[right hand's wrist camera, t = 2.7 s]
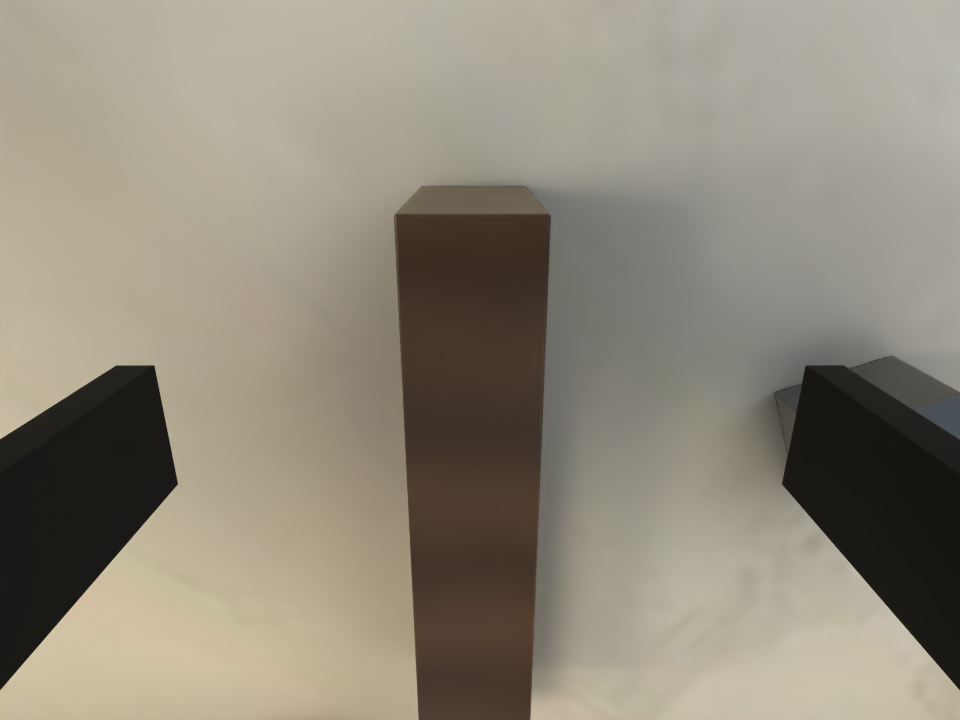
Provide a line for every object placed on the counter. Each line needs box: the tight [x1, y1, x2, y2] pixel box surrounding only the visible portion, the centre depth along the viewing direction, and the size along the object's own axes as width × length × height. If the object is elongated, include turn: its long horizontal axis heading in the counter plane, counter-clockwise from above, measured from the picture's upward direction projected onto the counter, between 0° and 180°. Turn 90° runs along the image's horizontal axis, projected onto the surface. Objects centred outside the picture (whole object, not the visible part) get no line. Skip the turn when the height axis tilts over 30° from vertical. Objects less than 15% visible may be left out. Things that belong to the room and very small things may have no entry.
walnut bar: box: [394, 186, 551, 720], centre depth 23 cm, size 24×4×8 cm, turn 0°
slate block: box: [775, 356, 960, 455], centre depth 25 cm, size 5×5×4 cm
